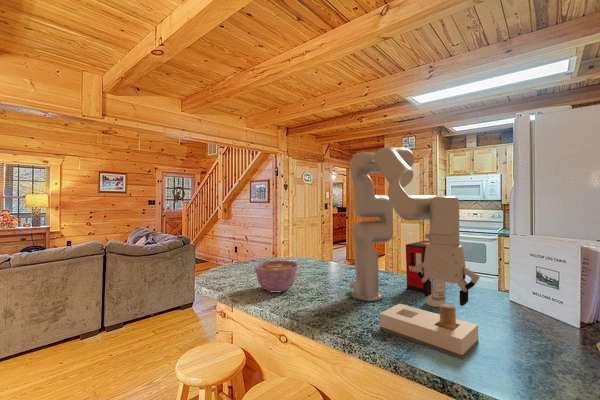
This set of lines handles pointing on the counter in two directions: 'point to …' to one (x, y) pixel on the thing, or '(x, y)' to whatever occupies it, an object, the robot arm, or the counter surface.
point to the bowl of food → (276, 274)
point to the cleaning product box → (415, 257)
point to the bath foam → (436, 294)
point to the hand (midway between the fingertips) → (444, 299)
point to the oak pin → (448, 317)
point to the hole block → (429, 330)
